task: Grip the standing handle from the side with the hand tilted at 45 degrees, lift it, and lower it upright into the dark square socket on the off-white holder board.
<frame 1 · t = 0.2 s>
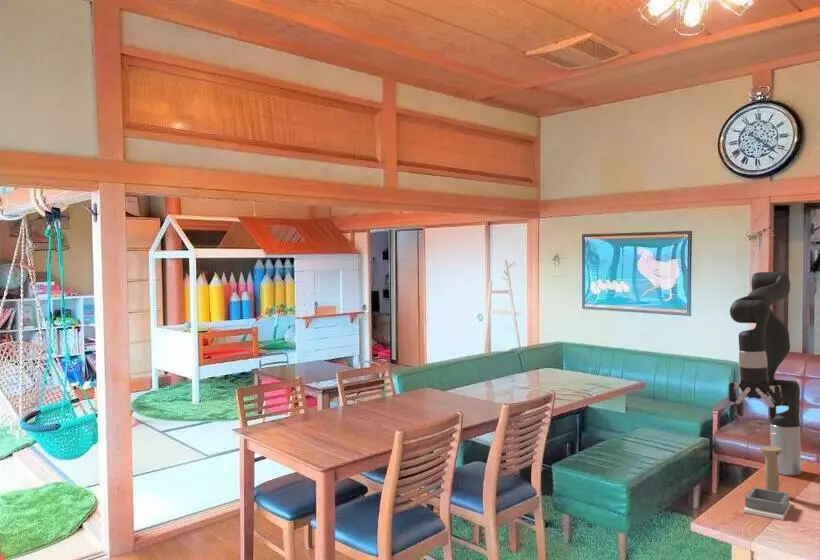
hand: (756, 417, 186), 29 cm above the table, tool pointing down, fingers open, 8 cm apart
holder: (767, 508, 187), on the table
handle: (772, 494, 198), on the table
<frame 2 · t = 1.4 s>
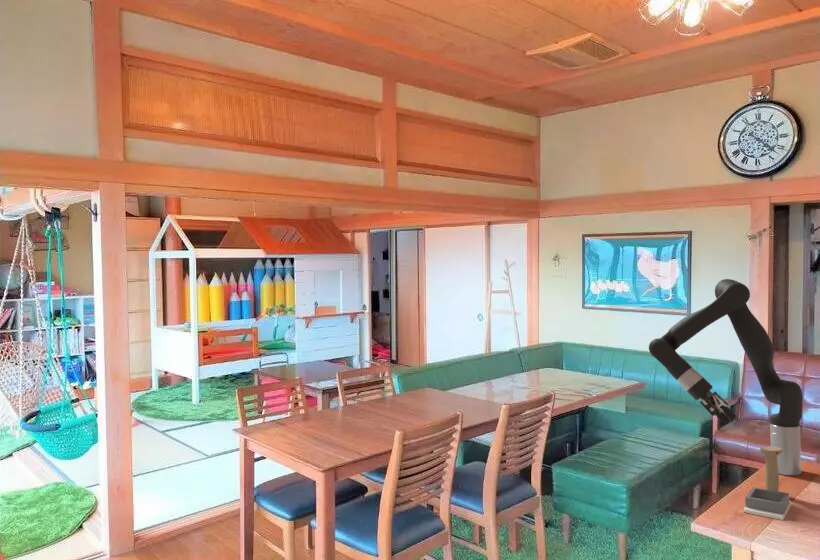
hand: (731, 420, 205), 23 cm above the table, tool tilted 45°, fingers open, 8 cm apart
nothing on the table moved.
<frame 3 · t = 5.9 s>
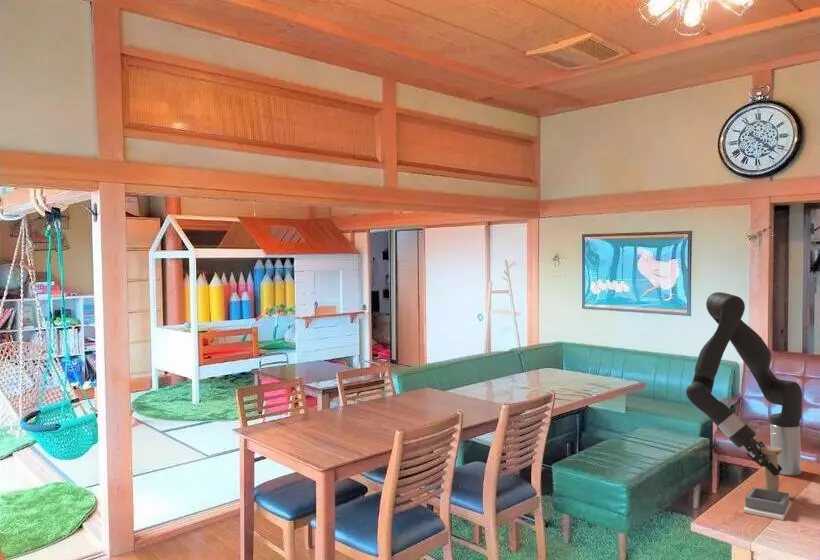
hand: (778, 472, 197), 8 cm above the table, tool tilted 45°, fingers closed on handle, 3 cm apart
handle: (772, 494, 198), on the table, touching gripper
when the fingers open (10 cm above the table, at t = 11.0 s): handle drops 1 cm, resting on holder.
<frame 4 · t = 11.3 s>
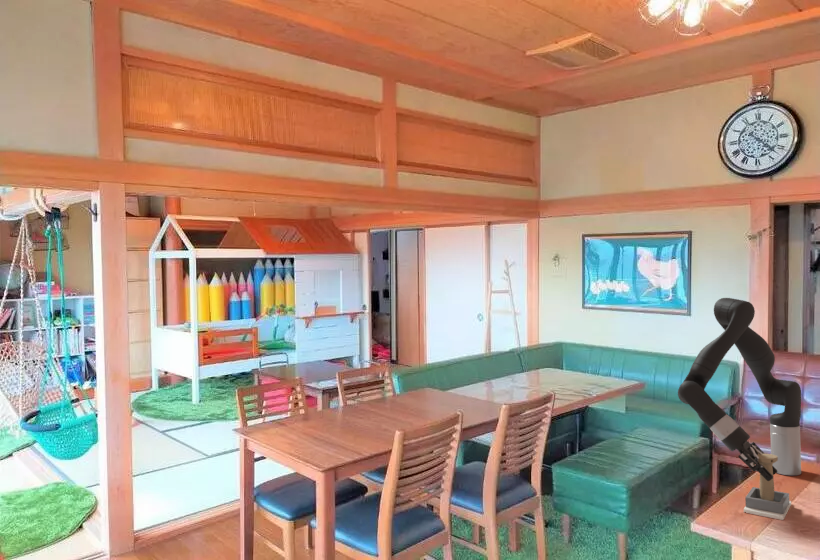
hand: (773, 476, 186), 10 cm above the table, tool tilted 45°, fingers open, 6 cm apart
handle: (767, 504, 187), point 1 cm above the table, touching holder
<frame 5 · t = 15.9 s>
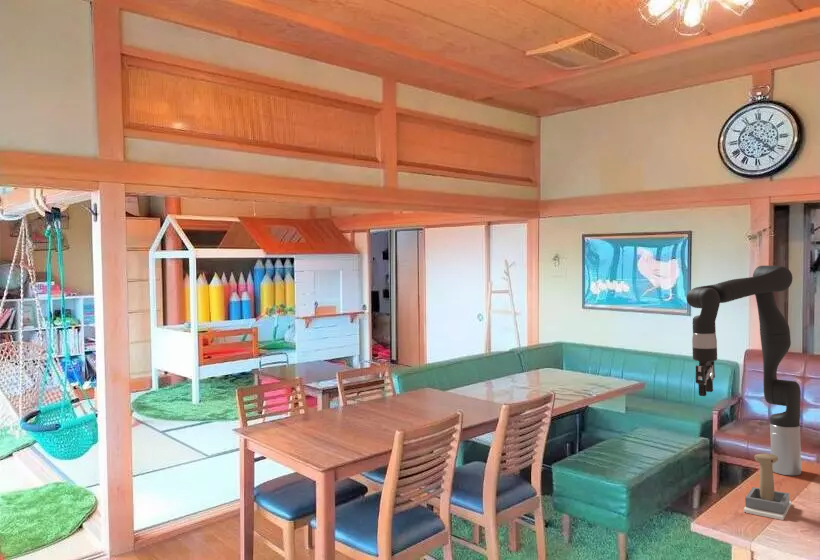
hand: (706, 393, 206), 32 cm above the table, tool pointing down, fingers open, 8 cm apart
nothing on the table moved.
at the end: handle 0.6 cm off-centre on the holder, point 0.8 cm above the holder's base; handle tilted 0°; the gripper is holding nothing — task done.
